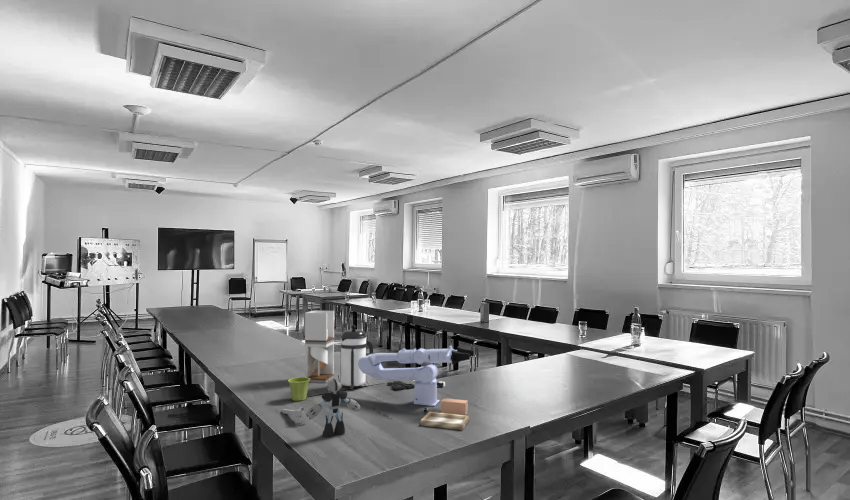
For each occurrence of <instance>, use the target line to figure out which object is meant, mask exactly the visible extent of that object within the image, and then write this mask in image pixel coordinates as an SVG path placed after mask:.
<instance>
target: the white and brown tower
mask: <svg viewBox="0 0 850 500" xmlns="http://www.w3.org/2000/svg"><path fill="white" fill-rule="evenodd" d="M304 347H305V377H307V378H310V380H309V383H321V384H322V383H323V384H328V379H329V382H330V381H332V380H333V379H335V378H334V377H335V373H334V372H335V367H334V366H335V355H334V354H335V311H334V310H311V311H307V312H305V313H304ZM327 377H328V379H327Z"/></svg>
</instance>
